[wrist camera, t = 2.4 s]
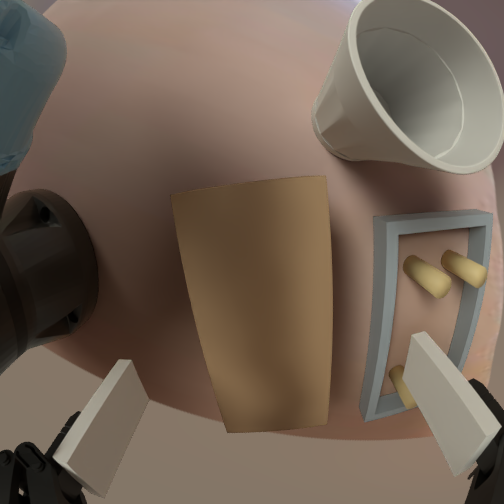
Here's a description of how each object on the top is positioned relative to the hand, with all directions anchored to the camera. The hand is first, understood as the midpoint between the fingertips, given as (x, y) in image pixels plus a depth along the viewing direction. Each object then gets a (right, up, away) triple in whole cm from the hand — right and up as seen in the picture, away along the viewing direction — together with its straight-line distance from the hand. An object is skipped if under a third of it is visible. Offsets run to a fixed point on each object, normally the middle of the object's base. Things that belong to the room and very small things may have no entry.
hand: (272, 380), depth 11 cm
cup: (+7, +16, +7) cm, 18 cm away
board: (0, +2, +7) cm, 7 cm away
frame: (+16, -1, +11) cm, 19 cm away
